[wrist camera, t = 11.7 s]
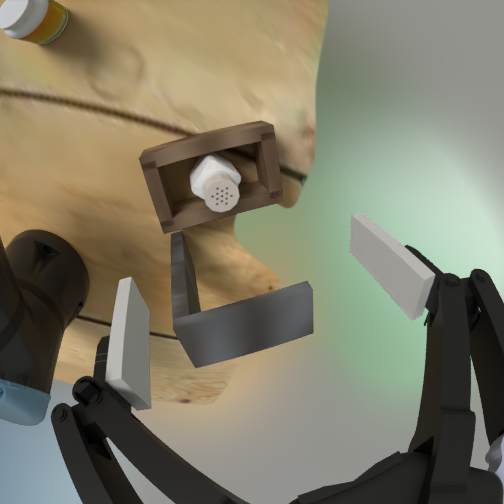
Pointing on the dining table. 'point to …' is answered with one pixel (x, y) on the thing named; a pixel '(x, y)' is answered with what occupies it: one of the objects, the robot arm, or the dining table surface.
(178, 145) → the brown and grey frame
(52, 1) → the supplement bottle
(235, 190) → the pepper shaker
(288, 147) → the dining table surface
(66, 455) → the robot arm
